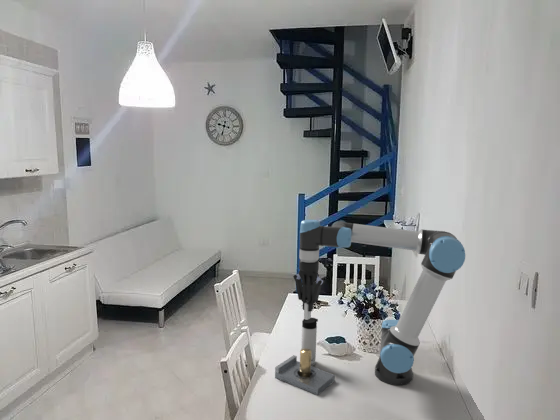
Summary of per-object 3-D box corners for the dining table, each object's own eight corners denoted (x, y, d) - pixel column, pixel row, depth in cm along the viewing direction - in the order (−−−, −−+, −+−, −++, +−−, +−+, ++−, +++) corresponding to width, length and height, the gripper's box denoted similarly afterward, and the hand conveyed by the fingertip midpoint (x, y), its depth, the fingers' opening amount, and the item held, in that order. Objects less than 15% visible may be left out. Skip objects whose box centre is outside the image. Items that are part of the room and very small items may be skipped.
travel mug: (315, 367, 181) (316, 322, 178) (299, 365, 182) (301, 320, 180) (316, 360, 187) (318, 316, 185) (302, 358, 189) (303, 315, 186)
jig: (334, 380, 171) (335, 370, 170) (317, 395, 161) (318, 383, 160) (293, 365, 183) (293, 355, 182) (275, 377, 172) (275, 367, 172)
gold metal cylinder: (312, 378, 172) (313, 350, 170) (306, 383, 169) (307, 354, 167) (303, 375, 175) (304, 347, 173) (297, 379, 171) (298, 351, 170)
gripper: (328, 260, 164) (326, 319, 167) (300, 255, 172) (298, 311, 175) (318, 264, 158) (316, 325, 161) (289, 259, 166) (288, 317, 169)
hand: (307, 318), depth 168 cm, fingers closed
